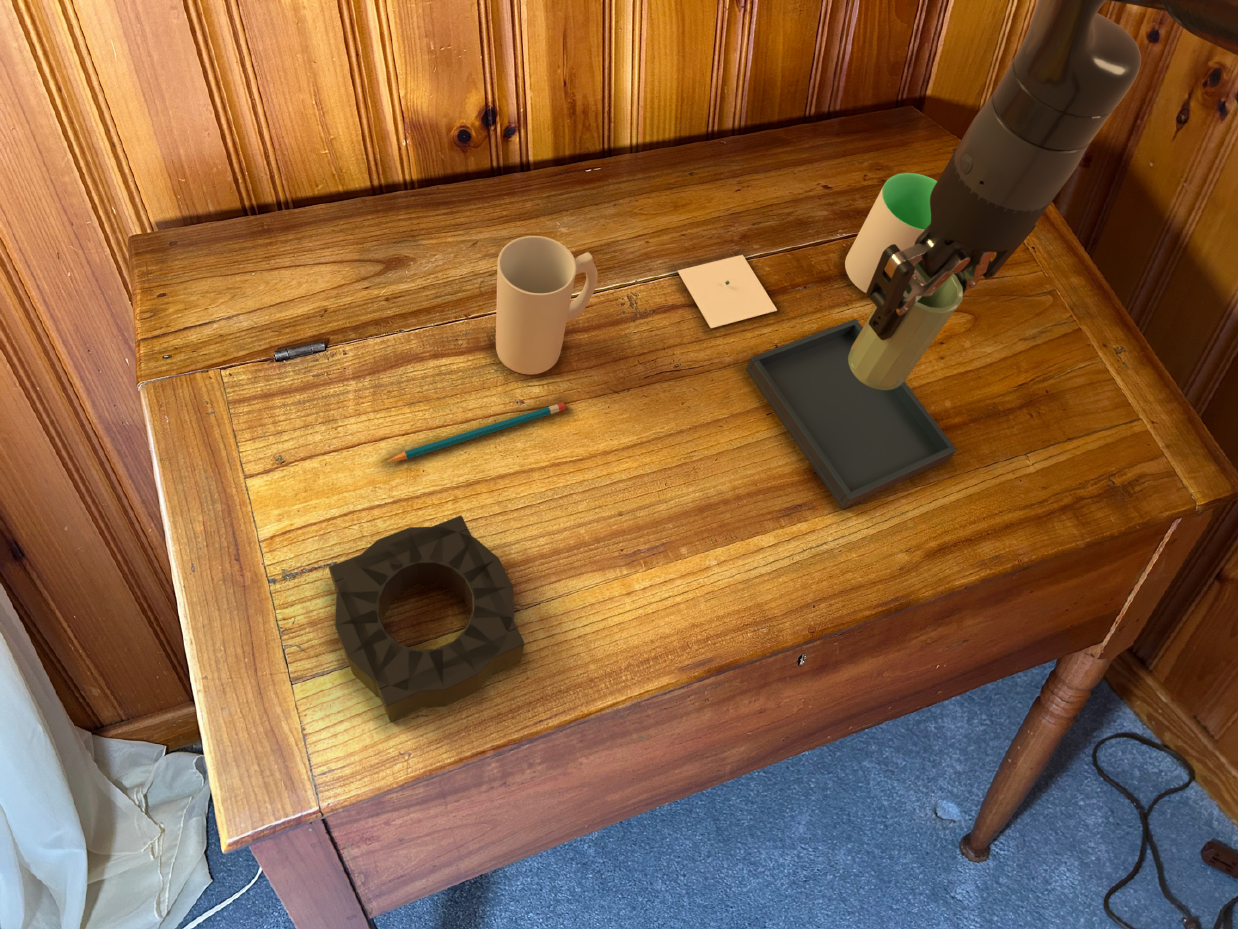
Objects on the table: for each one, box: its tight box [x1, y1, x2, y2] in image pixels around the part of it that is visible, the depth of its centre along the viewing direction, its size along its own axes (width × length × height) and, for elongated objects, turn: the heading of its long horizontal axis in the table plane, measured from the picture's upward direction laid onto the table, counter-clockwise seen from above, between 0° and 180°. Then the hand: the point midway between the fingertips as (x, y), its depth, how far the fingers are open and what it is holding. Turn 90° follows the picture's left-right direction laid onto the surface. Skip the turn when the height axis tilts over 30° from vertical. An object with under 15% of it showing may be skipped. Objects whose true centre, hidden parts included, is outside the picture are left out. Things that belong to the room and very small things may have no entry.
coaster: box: [677, 254, 778, 329], centre depth 97 cm, size 8×8×1 cm
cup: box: [848, 263, 964, 390], centre depth 79 cm, size 6×6×11 cm
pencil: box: [387, 402, 567, 462], centre depth 84 cm, size 1×17×1 cm, turn 116°
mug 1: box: [495, 235, 599, 375], centre depth 85 cm, size 10×7×12 cm, turn 121°
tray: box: [745, 318, 958, 510], centre depth 90 cm, size 17×13×2 cm
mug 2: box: [844, 172, 938, 294], centre depth 98 cm, size 12×8×10 cm
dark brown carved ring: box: [328, 515, 525, 723], centre depth 72 cm, size 13×13×4 cm
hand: (907, 320), depth 78 cm, fingers closed on cup, 5 cm apart
